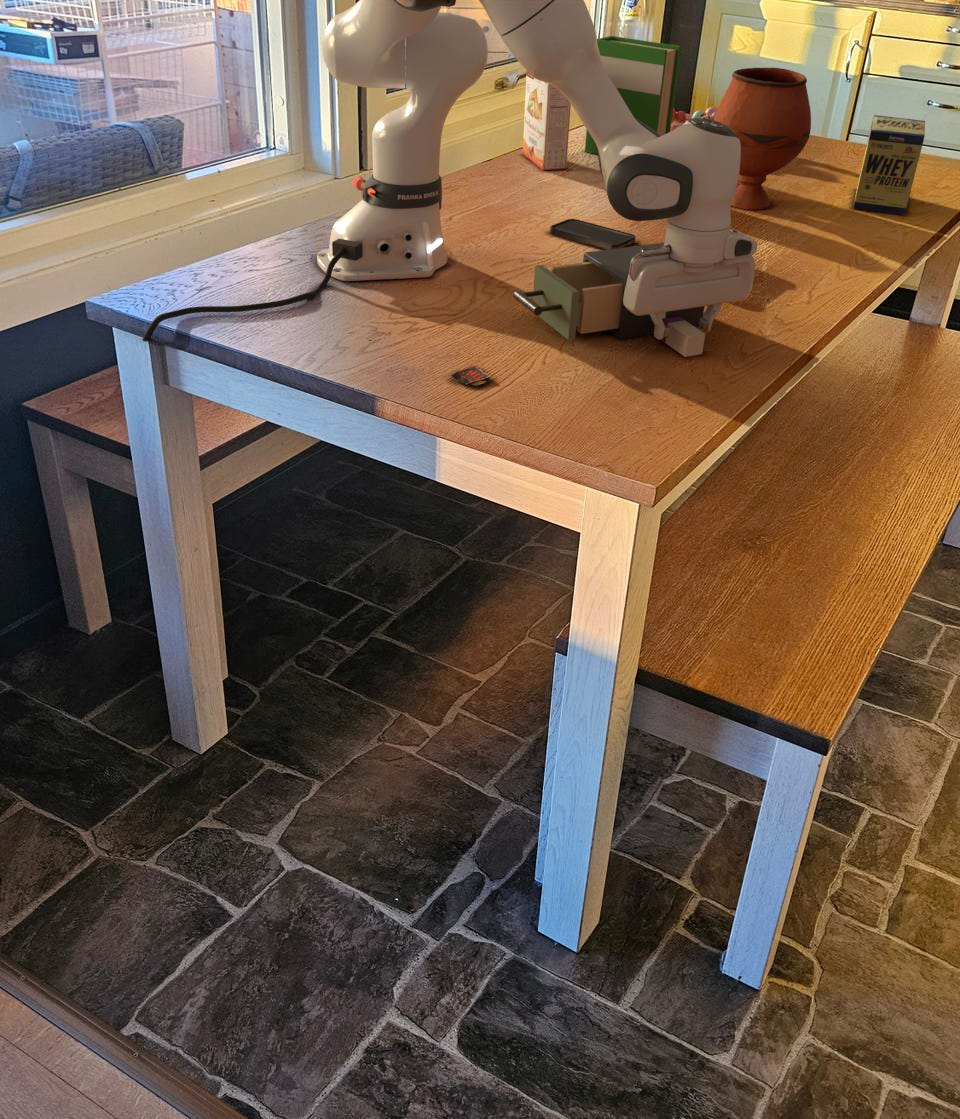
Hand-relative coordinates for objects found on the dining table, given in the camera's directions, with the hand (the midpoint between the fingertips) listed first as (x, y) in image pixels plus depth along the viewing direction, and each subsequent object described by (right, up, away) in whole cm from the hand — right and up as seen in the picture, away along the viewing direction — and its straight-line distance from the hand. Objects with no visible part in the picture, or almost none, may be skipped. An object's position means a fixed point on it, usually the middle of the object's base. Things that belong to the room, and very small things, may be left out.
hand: (682, 334), depth 161 cm
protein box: (+54, +42, +67) cm, 96 cm away
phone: (-9, +27, +41) cm, 50 cm away
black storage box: (-5, +5, +10) cm, 12 cm away
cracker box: (-16, +56, +84) cm, 103 cm away
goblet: (+25, +40, +63) cm, 79 cm away
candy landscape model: (+25, +67, +102) cm, 124 cm away
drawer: (-15, +3, +5) cm, 17 cm away
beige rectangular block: (0, -2, +1) cm, 2 cm away
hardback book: (+4, +61, +92) cm, 110 cm away
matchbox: (-31, -8, -11) cm, 34 cm away
